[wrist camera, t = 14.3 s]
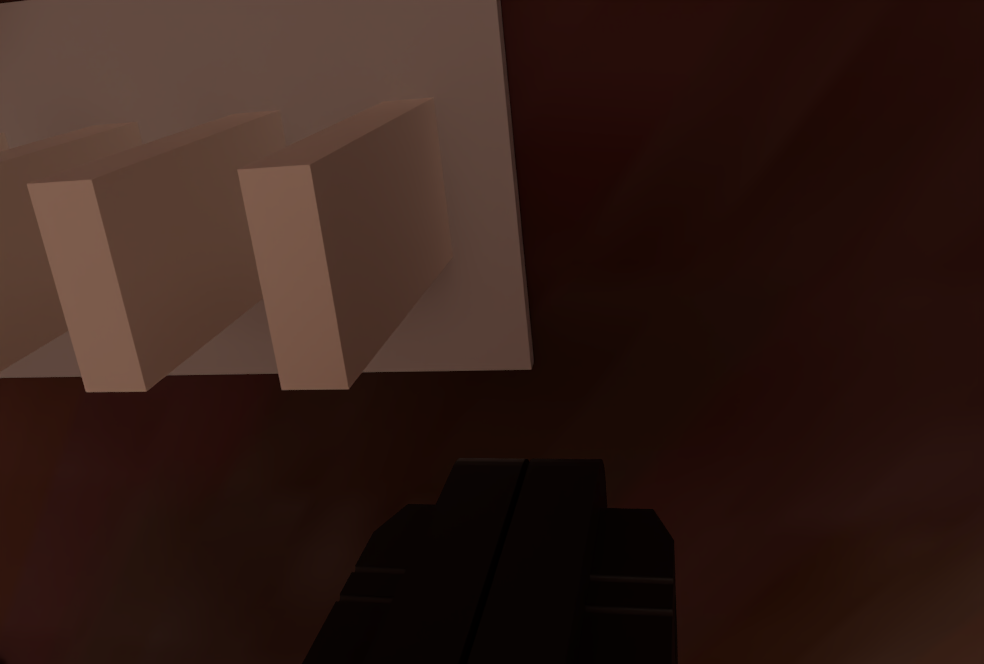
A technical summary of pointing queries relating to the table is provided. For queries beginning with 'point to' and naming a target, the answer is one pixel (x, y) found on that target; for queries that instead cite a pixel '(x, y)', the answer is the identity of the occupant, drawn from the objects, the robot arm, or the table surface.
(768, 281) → the table surface
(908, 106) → the table surface
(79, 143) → the ivory domino
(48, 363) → the grey rubber mat
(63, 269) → the ivory domino
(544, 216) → the table surface
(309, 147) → the ivory domino
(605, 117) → the table surface
